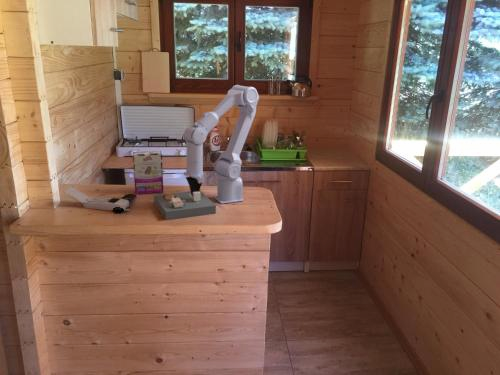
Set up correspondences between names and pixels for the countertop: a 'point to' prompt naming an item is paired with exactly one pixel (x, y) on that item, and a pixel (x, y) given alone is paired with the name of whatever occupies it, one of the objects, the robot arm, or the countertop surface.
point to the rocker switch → (177, 202)
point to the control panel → (184, 206)
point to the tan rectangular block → (196, 196)
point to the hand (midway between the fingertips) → (194, 196)
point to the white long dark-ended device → (97, 200)
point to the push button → (169, 196)
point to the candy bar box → (148, 172)
